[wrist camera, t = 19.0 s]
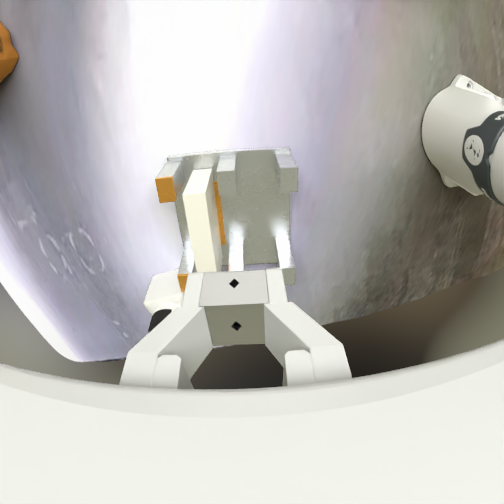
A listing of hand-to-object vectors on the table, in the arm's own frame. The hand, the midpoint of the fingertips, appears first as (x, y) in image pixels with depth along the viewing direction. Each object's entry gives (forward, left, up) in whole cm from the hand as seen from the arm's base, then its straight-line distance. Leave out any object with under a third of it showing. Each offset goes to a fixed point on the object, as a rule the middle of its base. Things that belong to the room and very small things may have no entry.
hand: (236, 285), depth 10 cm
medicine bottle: (+13, +27, -31) cm, 43 cm away
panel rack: (+2, +13, -31) cm, 34 cm away
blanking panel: (+5, +13, -30) cm, 33 cm away
